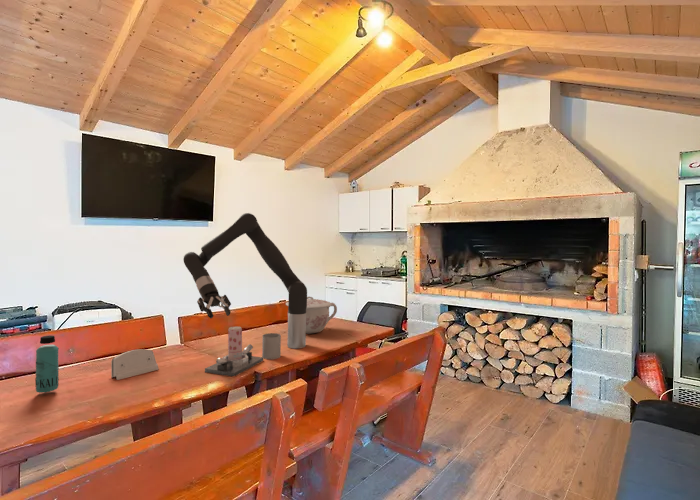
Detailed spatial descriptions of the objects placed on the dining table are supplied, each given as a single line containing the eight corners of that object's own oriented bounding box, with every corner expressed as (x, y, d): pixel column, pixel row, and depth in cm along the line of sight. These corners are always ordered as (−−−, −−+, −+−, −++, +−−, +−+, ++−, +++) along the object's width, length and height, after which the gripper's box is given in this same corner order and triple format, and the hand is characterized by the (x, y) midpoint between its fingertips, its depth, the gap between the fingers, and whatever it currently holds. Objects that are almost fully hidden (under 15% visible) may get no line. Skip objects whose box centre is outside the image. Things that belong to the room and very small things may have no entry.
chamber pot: (276, 334, 226) (277, 298, 225) (296, 324, 252) (297, 292, 252) (322, 339, 218) (323, 301, 217) (338, 328, 244) (339, 295, 243)
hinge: (116, 380, 150) (112, 354, 152) (111, 381, 153) (107, 355, 155) (159, 369, 164) (155, 345, 165) (154, 370, 166) (150, 346, 168)
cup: (283, 355, 186) (284, 334, 186) (273, 360, 179) (273, 338, 178) (269, 353, 190) (269, 332, 189) (258, 357, 182) (258, 336, 182)
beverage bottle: (43, 389, 140) (43, 333, 139) (63, 389, 140) (63, 333, 140) (30, 397, 133) (30, 338, 132) (51, 397, 134) (51, 338, 133)
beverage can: (234, 365, 166) (234, 329, 165) (225, 363, 169) (225, 328, 168) (244, 362, 170) (244, 327, 170) (235, 359, 173) (235, 325, 173)
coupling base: (237, 356, 183) (237, 342, 183) (264, 360, 178) (264, 345, 178) (203, 372, 161) (203, 356, 160) (232, 377, 156) (233, 360, 156)
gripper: (195, 283, 175) (209, 313, 169) (223, 281, 186) (237, 308, 180) (189, 294, 179) (202, 323, 172) (217, 291, 190) (230, 318, 183)
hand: (220, 316), depth 176 cm, fingers open, 8 cm apart
